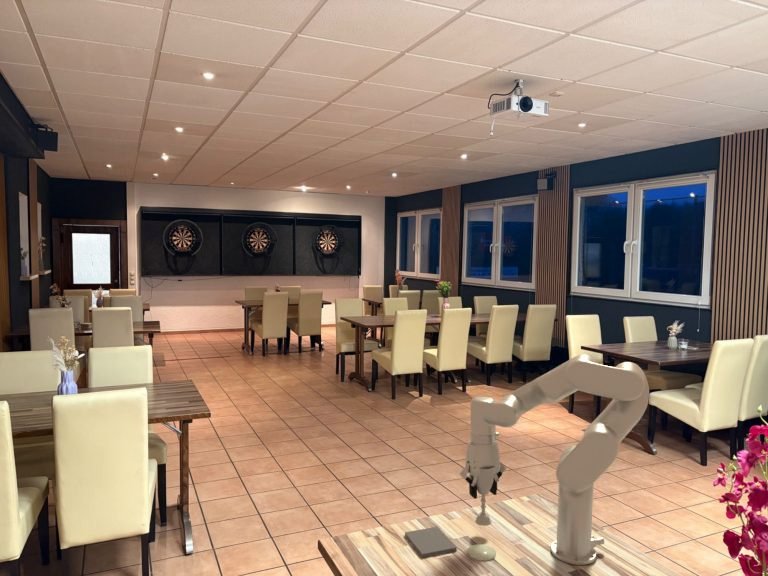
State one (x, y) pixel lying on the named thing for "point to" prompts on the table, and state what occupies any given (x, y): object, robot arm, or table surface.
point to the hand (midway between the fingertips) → (483, 494)
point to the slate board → (430, 541)
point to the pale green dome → (482, 552)
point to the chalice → (483, 488)
